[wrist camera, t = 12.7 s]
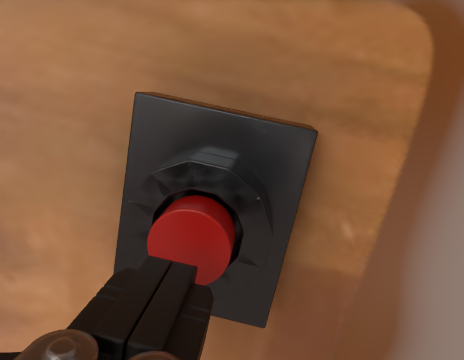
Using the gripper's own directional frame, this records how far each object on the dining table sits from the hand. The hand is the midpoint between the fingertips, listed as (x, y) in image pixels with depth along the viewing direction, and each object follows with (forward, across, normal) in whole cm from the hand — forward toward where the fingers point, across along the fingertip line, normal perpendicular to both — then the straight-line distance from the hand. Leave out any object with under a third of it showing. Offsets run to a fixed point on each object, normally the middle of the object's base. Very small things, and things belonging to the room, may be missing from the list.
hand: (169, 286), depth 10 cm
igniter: (+8, 0, 0) cm, 8 cm away
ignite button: (+4, 0, 0) cm, 4 cm away
